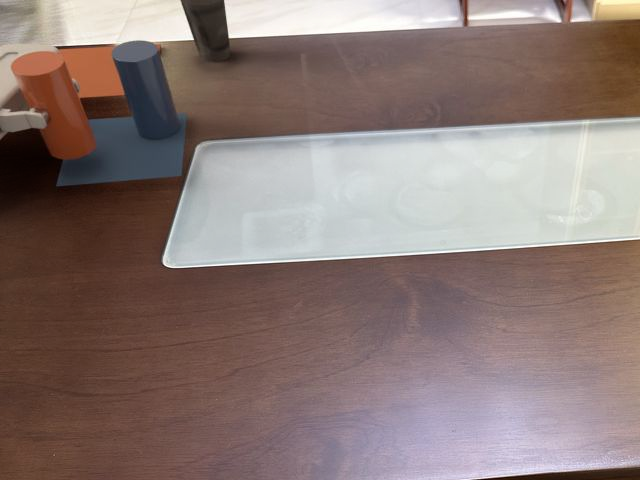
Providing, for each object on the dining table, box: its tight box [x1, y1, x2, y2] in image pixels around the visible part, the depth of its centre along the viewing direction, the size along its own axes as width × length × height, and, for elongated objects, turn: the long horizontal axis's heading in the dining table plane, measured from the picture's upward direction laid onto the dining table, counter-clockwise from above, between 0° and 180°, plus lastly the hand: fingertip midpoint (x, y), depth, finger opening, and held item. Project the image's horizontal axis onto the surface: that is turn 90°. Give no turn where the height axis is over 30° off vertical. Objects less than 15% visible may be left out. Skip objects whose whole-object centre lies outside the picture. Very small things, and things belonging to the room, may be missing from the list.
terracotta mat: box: [58, 43, 162, 99], centre depth 108 cm, size 15×15×1 cm
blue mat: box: [55, 112, 188, 187], centre depth 96 cm, size 15×15×1 cm
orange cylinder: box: [11, 51, 97, 160], centre depth 86 cm, size 6×6×11 cm
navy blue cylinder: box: [111, 39, 180, 140], centre depth 95 cm, size 6×6×11 cm
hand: (61, 103), depth 85 cm, fingers closed on orange cylinder, 5 cm apart
